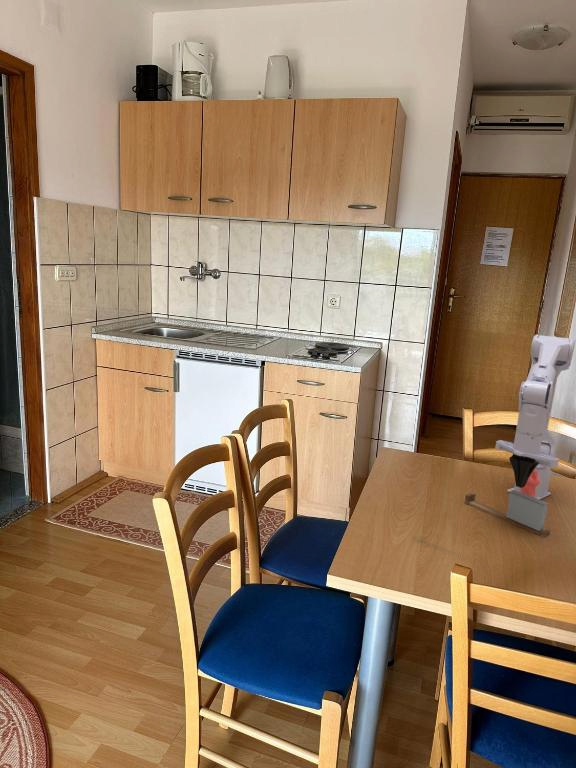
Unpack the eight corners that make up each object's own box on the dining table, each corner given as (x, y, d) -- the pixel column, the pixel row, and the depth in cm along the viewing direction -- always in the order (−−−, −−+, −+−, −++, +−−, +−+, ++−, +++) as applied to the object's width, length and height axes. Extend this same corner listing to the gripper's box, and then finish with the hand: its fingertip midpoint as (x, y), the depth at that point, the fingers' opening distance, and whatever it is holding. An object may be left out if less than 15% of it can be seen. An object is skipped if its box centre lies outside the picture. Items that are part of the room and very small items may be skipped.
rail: (471, 500, 145) (472, 492, 144) (549, 534, 129) (551, 525, 128) (464, 503, 143) (465, 494, 142) (543, 537, 127) (544, 528, 126)
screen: (509, 515, 136) (513, 489, 134) (543, 529, 129) (548, 503, 128) (505, 517, 134) (509, 491, 133) (539, 531, 128) (544, 505, 126)
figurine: (537, 516, 138) (546, 460, 134) (515, 513, 139) (524, 458, 135) (532, 507, 143) (541, 453, 139) (511, 505, 144) (520, 451, 140)
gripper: (491, 425, 129) (483, 478, 132) (551, 443, 118) (541, 501, 121) (507, 421, 134) (499, 473, 137) (567, 438, 122) (556, 494, 126)
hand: (520, 486), depth 129 cm, fingers closed
